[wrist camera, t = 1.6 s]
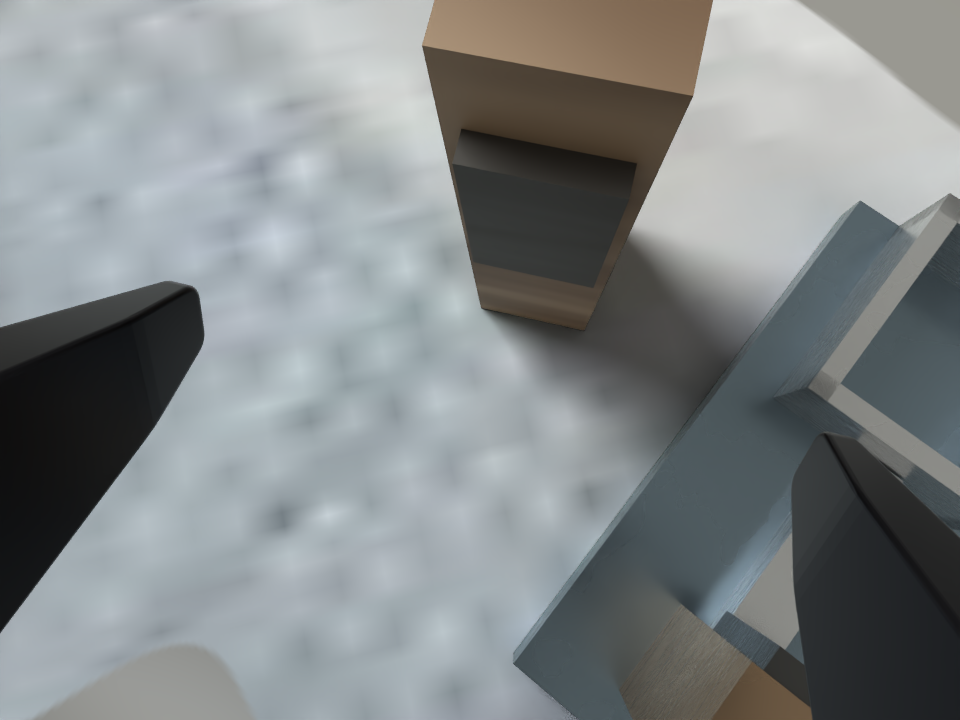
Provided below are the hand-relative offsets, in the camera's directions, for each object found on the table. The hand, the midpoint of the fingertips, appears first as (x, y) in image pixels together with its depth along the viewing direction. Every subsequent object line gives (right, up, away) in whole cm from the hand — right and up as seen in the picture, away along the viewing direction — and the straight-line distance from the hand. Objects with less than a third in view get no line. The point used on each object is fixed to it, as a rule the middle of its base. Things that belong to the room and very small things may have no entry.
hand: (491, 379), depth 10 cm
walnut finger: (+2, +4, +13) cm, 14 cm away
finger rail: (+10, -5, +11) cm, 16 cm away
